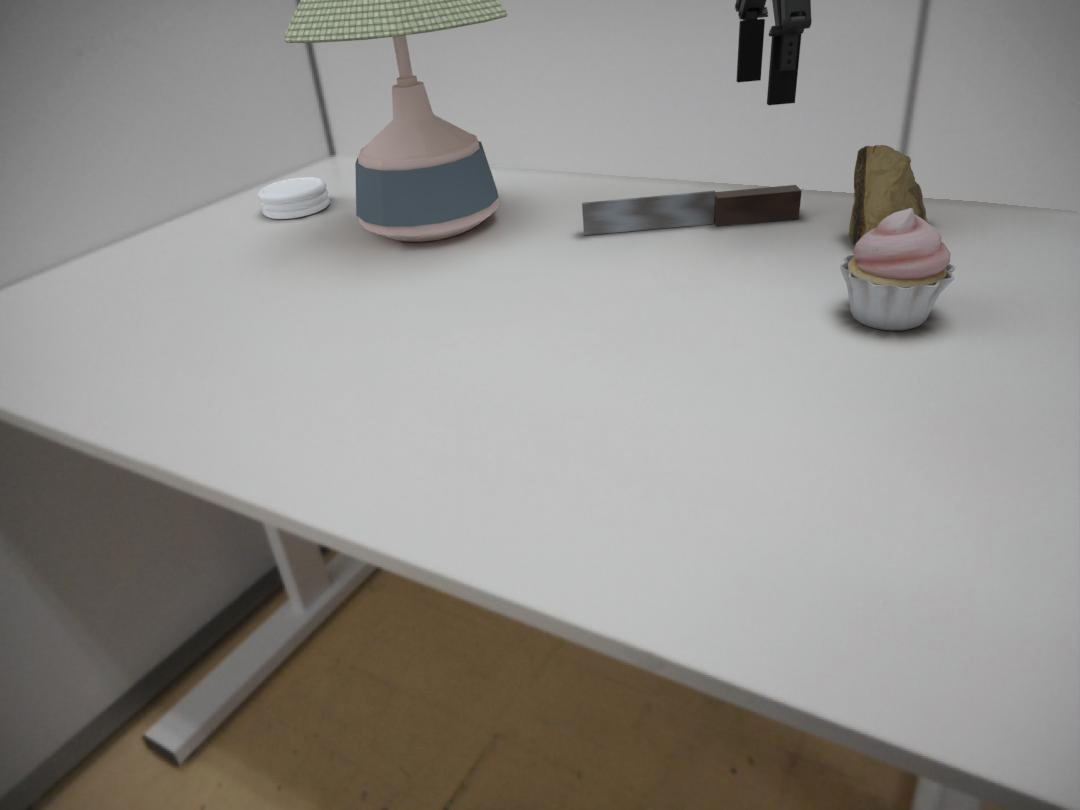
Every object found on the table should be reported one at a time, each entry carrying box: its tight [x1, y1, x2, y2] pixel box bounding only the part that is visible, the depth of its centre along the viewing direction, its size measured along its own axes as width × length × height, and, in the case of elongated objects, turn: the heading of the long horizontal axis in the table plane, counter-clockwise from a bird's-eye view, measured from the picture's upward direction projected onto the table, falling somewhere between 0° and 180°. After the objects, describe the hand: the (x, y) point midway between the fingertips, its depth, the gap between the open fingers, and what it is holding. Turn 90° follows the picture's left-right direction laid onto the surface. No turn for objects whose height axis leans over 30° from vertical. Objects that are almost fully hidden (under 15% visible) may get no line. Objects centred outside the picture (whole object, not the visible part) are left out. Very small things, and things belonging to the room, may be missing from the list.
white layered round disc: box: [257, 176, 331, 220], centre depth 111 cm, size 10×10×4 cm
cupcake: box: [838, 208, 957, 331], centre depth 65 cm, size 9×9×10 cm
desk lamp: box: [282, 0, 509, 243], centre depth 89 cm, size 26×28×42 cm
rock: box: [848, 144, 928, 246], centre depth 81 cm, size 11×9×10 cm
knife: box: [581, 184, 803, 236], centre depth 90 cm, size 26×2×4 cm, turn 91°
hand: (763, 91), depth 83 cm, fingers open, 13 cm apart
